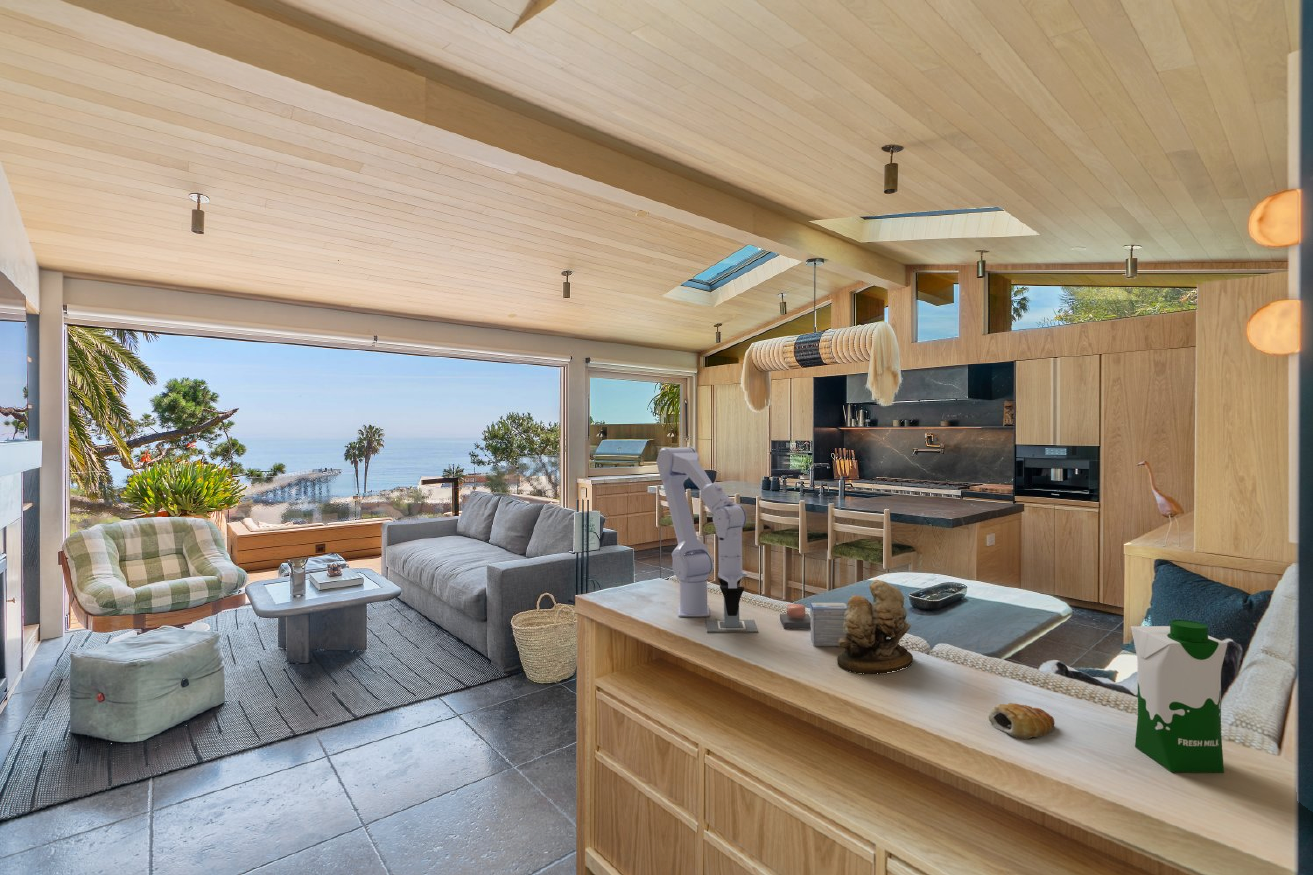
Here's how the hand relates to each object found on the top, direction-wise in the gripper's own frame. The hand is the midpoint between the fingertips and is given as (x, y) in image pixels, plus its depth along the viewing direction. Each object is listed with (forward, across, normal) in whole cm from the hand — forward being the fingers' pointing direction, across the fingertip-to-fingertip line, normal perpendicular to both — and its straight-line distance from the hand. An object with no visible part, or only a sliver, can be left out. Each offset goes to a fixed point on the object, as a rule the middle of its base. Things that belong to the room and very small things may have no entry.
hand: (731, 610), depth 154 cm
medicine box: (+4, -12, -21) cm, 25 cm away
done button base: (+4, +2, -16) cm, 17 cm away
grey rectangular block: (+3, 0, 0) cm, 4 cm away
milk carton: (+4, -61, -59) cm, 85 cm away
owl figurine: (+4, -23, -28) cm, 36 cm away
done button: (+2, +2, -16) cm, 16 cm away
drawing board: (+4, 0, 0) cm, 4 cm away
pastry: (+4, -52, -42) cm, 67 cm away
